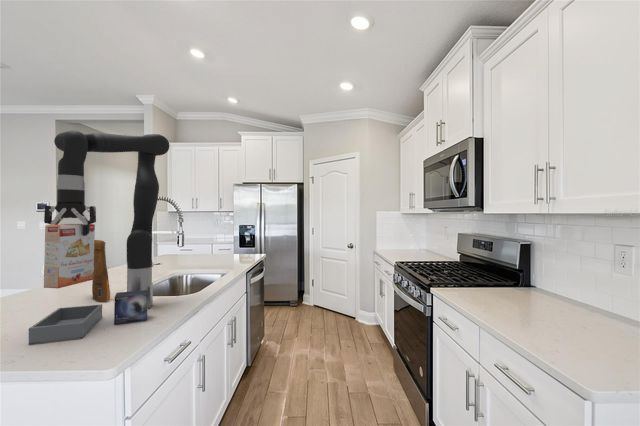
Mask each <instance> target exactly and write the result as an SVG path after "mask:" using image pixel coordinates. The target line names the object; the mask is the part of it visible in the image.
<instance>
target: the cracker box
mask: <svg viewBox="0 0 640 426" xmlns="http://www.w3.org/2000/svg"><path fill="white" fill-rule="evenodd" d="M83 225H84V224H83V223H64V224H63V223H62V224H59V223H58V225H51V224H45V226H44V228H45V229H44V259H43V260H44V263H43V264H44V266H43V268H44V270H43V288H44V289H45V288H46V289H61V288H65V287H66V288H67V287H69V286H73V285H77V284H81V283H85V282H90V281H93V272H94V240H95V233H96V232H95V226H96V224H94V223H92V224H90V232H89V234H88V235H87V236H83Z"/></svg>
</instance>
